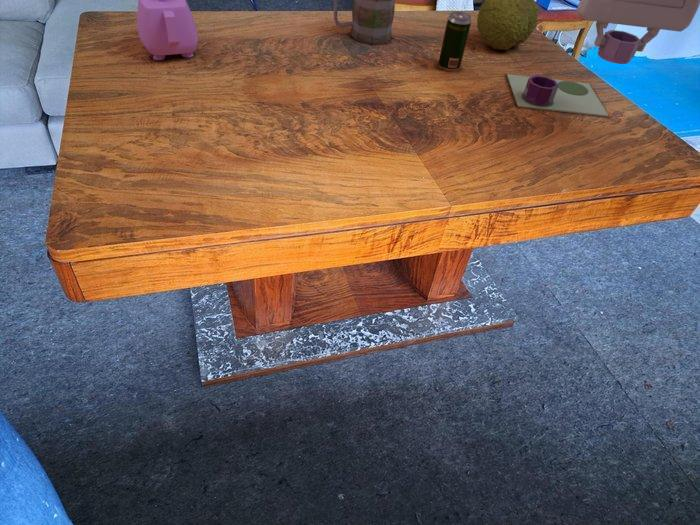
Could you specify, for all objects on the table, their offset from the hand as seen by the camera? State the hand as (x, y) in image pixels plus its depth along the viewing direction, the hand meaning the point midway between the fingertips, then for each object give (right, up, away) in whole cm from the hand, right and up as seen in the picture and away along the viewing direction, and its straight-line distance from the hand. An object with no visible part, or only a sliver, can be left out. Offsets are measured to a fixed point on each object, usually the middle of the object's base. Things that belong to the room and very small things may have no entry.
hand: (618, 48), depth 98 cm
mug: (-49, +18, +35) cm, 63 cm away
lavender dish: (0, -1, +1) cm, 2 cm away
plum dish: (-10, -5, +15) cm, 19 cm away
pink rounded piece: (-93, +7, +18) cm, 95 cm away
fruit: (-12, +17, +38) cm, 43 cm away
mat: (-5, -3, +19) cm, 20 cm away
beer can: (-28, +6, +25) cm, 38 cm away
